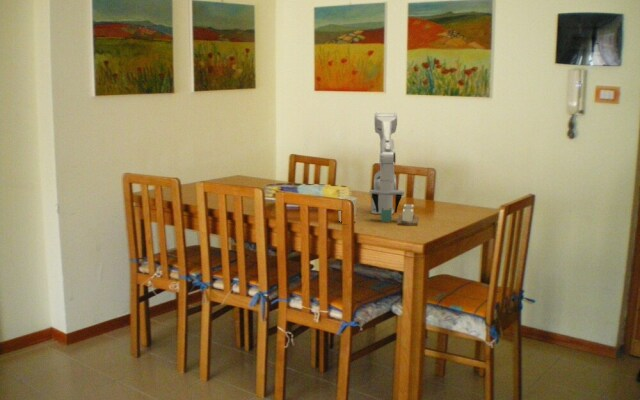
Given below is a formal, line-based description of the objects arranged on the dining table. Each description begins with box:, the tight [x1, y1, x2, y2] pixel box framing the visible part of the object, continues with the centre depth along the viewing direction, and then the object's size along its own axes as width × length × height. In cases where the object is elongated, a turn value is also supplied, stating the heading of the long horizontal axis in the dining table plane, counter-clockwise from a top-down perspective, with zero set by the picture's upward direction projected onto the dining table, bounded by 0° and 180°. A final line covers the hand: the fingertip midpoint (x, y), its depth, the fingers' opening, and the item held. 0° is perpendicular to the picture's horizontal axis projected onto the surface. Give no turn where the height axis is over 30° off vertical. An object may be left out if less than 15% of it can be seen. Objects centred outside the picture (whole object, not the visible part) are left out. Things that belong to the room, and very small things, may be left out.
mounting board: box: [396, 214, 419, 227], centre depth 288 cm, size 8×16×2 cm, turn 171°
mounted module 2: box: [402, 208, 414, 221], centre depth 282 cm, size 4×4×4 cm
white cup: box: [337, 196, 358, 223], centre depth 286 cm, size 8×8×10 cm
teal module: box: [380, 208, 393, 223], centre depth 289 cm, size 4×4×5 cm
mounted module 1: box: [403, 203, 415, 213], centre depth 293 cm, size 4×4×4 cm
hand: (386, 212), depth 289 cm, fingers open, 7 cm apart
